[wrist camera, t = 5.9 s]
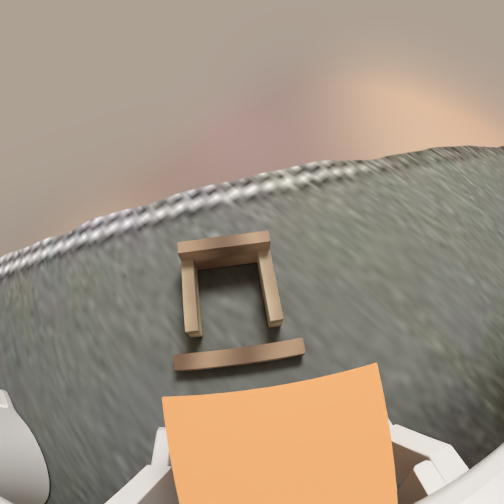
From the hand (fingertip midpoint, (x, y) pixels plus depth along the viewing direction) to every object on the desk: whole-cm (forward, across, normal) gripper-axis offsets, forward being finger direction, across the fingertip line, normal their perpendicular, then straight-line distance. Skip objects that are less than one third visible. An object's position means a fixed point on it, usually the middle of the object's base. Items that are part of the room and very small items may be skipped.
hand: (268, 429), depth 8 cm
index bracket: (+20, +1, +4) cm, 21 cm away
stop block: (+3, 0, +4) cm, 5 cm away
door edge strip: (+16, +1, +8) cm, 18 cm away
